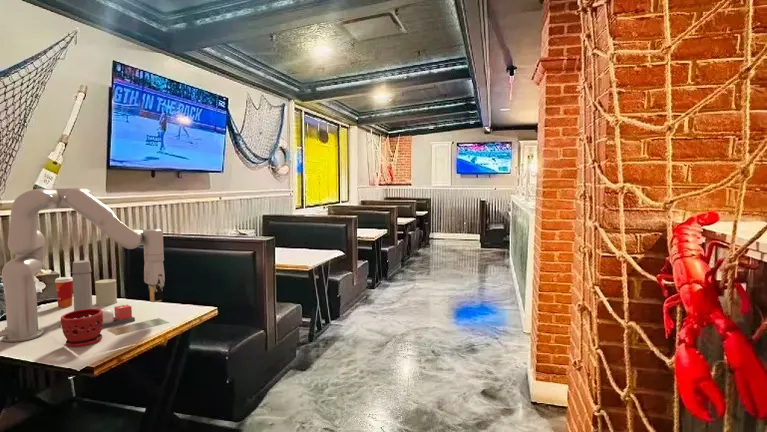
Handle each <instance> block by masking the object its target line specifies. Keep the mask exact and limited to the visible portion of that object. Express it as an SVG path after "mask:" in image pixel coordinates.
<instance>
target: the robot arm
mask: <svg viewBox="0 0 767 432" xmlns="http://www.w3.org/2000/svg"><path fill="white" fill-rule="evenodd" d="M55 209H56V210H57V209H59V210H60V209H62V210H63V209H72V210H73V211H75V212H76V213H77V214H79V215H80V216H82V217H83V218H84V219H86V220H88V221H89V222H91V223H92V224H93V225H94V226H96V227H97V228H98V230H100V231H101V232H102V233H104V235H106V236H107V237H108V238H110V239H111V240H112V241H114V242H115V243H117V244H118V245H119V246H122V248H125V249H126V250H127V249H128V250H133V249H136V248H138V247H139V246H143V261H144V265H143V268H144V269H143V282H144V284H147V285H148V286H147V287H148V296H149V297H148V299H149V300H150V285H154V287H155V292H154V300H155V301H158V300H162V301H163V297H164V296H163V292H164V291H163V289H164V287H165V280H166V279H165V267H164V261H165V255H164V254H165V253H164V252H165V251H164V236H163V235H164V233H163V230H162V229H159V228H152V229H151V228H150V229H137V228H133V229H131V228H130V227H128V226H127V225H126V224H125V223H124V222H122V221H120V220H119V218H118V217H117V216H116V215H115V212H114V211H113V210H112V209H111V208H110V207H108V205H105V204H104V203H103V202H101V201H100V200H99V199H97V198H96V197H95V196H94V194H93V193H92V191H91V190H89V189H87V188H85V187H72V188H71V187H70V188H35V189H30V190H27V191H25V192H23V193H21V194H20V195H18V196H17V197H16V198H15V200H14V201H13V203H12V206H11V210H10V221H9V225H8V226H9V227H8V238H7V248H8V250H9V251H10V252H11V253H12V254H15V257H14V258H13V259H10V260H9V261H7V262H6V263H5V264H4V265H3V267H2V270H1V278H2V283H3V287H4V298H5V314H6V315H5V316H6V326H5V327H4V329H2V330H1V331H0V338H1V339H2V341H3V342H6V343H17V342H25V341H30V340H32V339H33V340H34V339H36V338H38V337H41V336H42V335H43V334H44V330H43V329H40V328H39V318H38V316H39V315H38V298H37V297H38V296H37V288H36V282H35V277H36V276H37V275H39V274H40V272H41V271H42V269H43V266H44V260H45V259H44V258H45V250H46V249H45V248H46V240H45V239H46V238H45V235H44V234H43V233H42V232H41V231H40V230H38V225H39V216H38V215H39V212H40V211H46V210H47V211H48V210H55ZM158 285H159V286H158ZM157 286H158V287H157Z"/></svg>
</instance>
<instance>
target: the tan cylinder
mask: <svg viewBox="0 0 767 432" xmlns="http://www.w3.org/2000/svg"><path fill="white" fill-rule="evenodd" d="M158 286H159V285H158ZM158 286H157V287H158ZM154 292H155V287H154V285H150V299H149V301H150V303H159V302H162V301H163V299H162V300H158V301H155V300H154Z"/></svg>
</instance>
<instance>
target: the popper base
mask: <svg viewBox="0 0 767 432" xmlns="http://www.w3.org/2000/svg"><path fill="white" fill-rule="evenodd" d="M132 311H133V309H132V305H129V304H121V305H117V306H114V322H111V323H106V324H103V326H102V329H105V328H110V327H113V326H119V325H122V324H126V323H131V322H135V321H136V317H135V316H133V315H132V314H133V313H132ZM96 324H97V322H96Z"/></svg>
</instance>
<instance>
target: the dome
mask: <svg viewBox="0 0 767 432" xmlns="http://www.w3.org/2000/svg"><path fill="white" fill-rule="evenodd" d="M102 312H103V324H106V323H111V322H114V317H115V314H114V312H113V311H112V310H110V309H106V308H105V309H103V310H102Z"/></svg>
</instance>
